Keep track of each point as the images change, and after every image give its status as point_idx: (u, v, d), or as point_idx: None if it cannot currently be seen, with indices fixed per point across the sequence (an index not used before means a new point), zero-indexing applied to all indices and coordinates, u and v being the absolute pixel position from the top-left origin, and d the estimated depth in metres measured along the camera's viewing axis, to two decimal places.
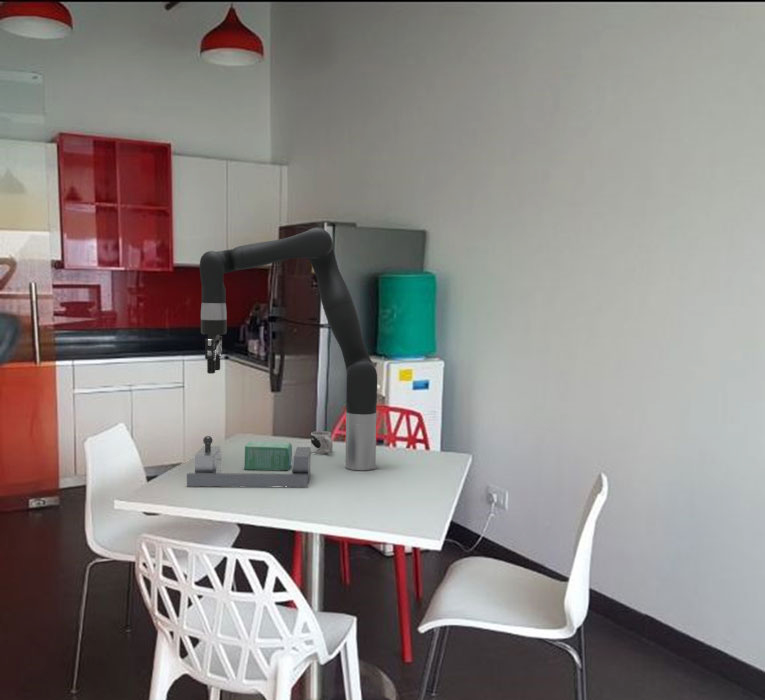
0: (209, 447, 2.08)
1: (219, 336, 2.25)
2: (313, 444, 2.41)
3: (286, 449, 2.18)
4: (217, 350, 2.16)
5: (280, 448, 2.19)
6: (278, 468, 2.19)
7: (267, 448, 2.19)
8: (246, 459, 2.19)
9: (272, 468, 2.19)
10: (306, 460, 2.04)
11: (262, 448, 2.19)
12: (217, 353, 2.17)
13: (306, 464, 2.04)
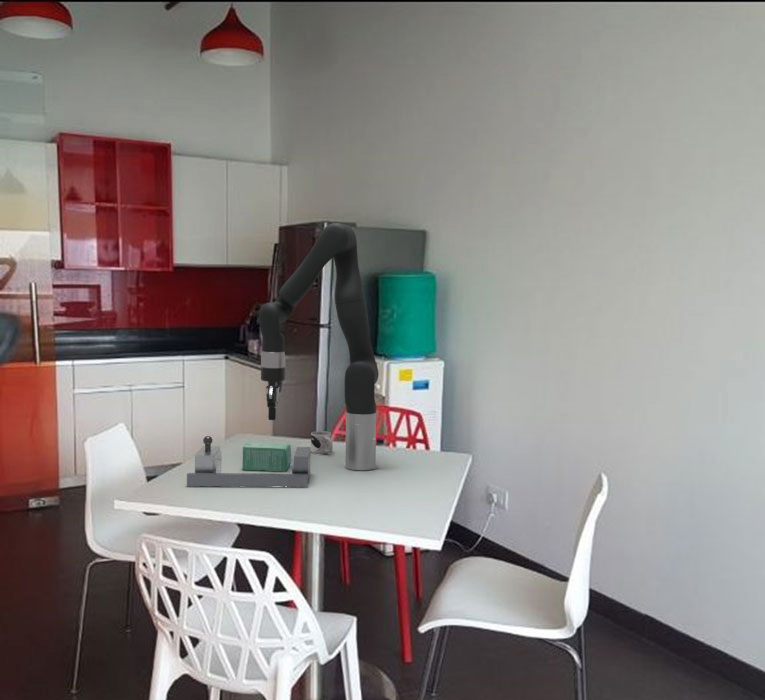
0: (209, 447, 2.08)
1: None
2: (313, 444, 2.41)
3: (284, 450, 2.17)
4: (277, 398, 2.30)
5: (278, 449, 2.17)
6: (276, 469, 2.18)
7: (265, 449, 2.18)
8: (244, 460, 2.18)
9: (270, 469, 2.18)
10: (306, 460, 2.04)
11: (260, 449, 2.18)
12: None
13: (306, 464, 2.04)
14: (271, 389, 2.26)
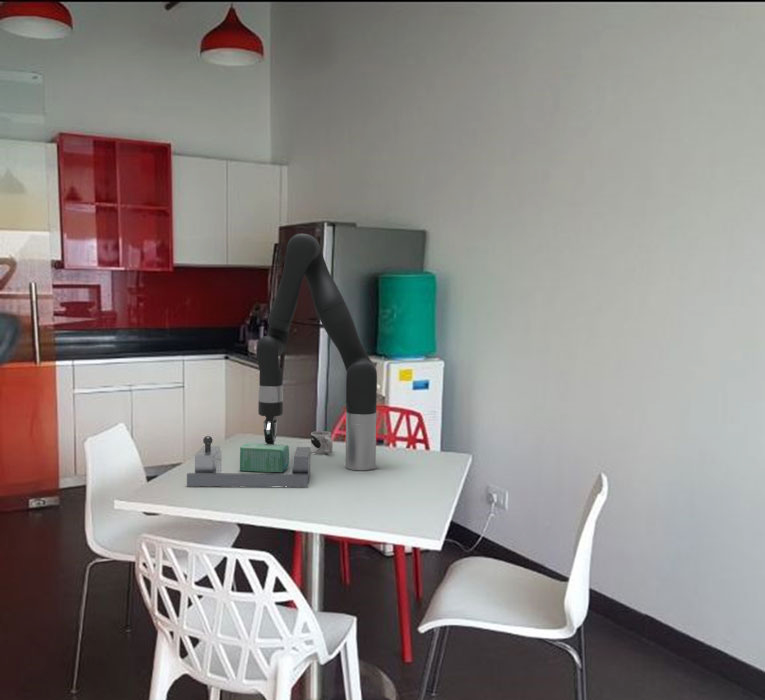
0: (209, 447, 2.08)
1: None
2: (313, 444, 2.41)
3: (281, 451, 2.15)
4: (275, 433, 2.24)
5: (275, 450, 2.16)
6: (273, 470, 2.16)
7: (262, 450, 2.16)
8: (241, 460, 2.17)
9: (267, 470, 2.16)
10: (306, 460, 2.04)
11: (257, 449, 2.16)
12: (275, 434, 2.25)
13: (306, 464, 2.04)
14: (269, 424, 2.21)
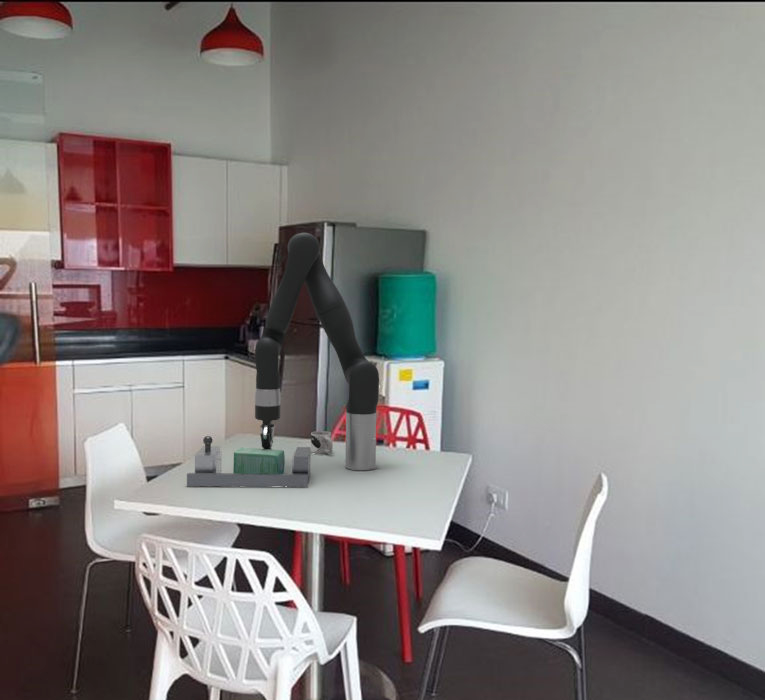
0: (209, 447, 2.08)
1: None
2: (313, 444, 2.41)
3: (275, 457, 2.08)
4: (272, 438, 2.17)
5: (269, 455, 2.09)
6: None
7: (256, 455, 2.09)
8: (235, 466, 2.10)
9: None
10: (306, 460, 2.04)
11: (251, 455, 2.09)
12: (272, 439, 2.18)
13: (306, 464, 2.04)
14: (265, 429, 2.14)
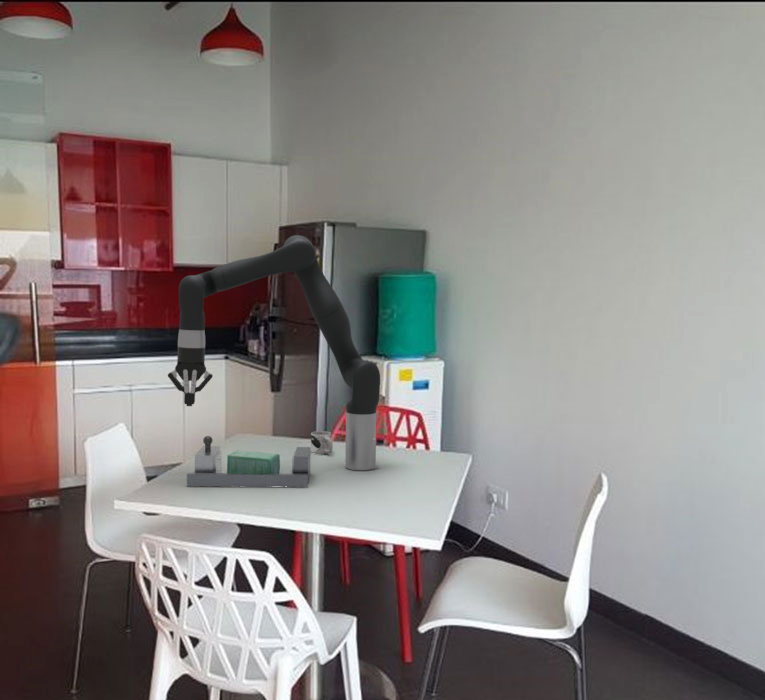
0: (209, 447, 2.08)
1: (210, 374, 2.09)
2: (313, 444, 2.41)
3: (268, 460, 2.04)
4: (184, 382, 2.06)
5: (262, 459, 2.05)
6: None
7: (249, 458, 2.05)
8: (228, 469, 2.07)
9: None
10: (306, 460, 2.04)
11: (244, 458, 2.06)
12: (187, 384, 2.07)
13: (306, 464, 2.04)
14: (175, 369, 2.07)
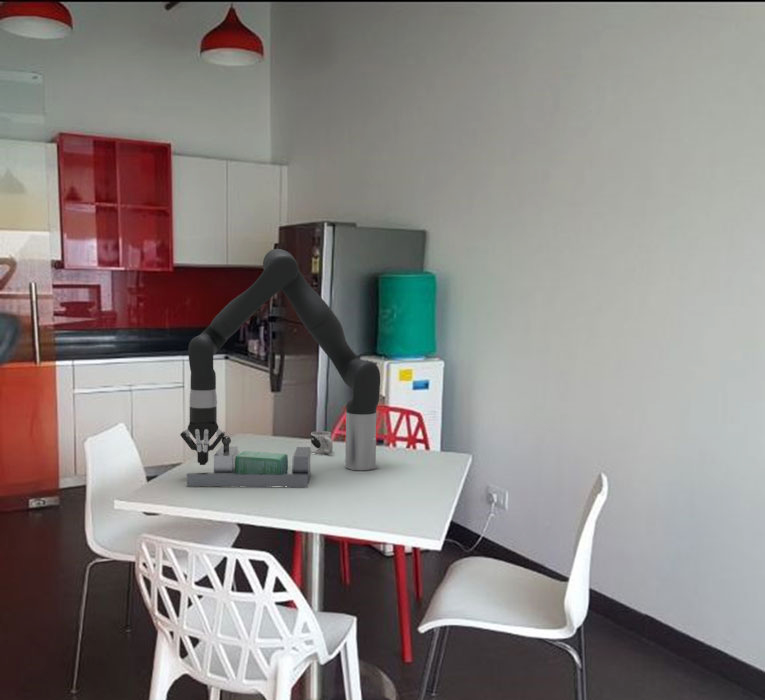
0: (227, 447, 2.08)
1: (222, 433, 2.08)
2: (313, 444, 2.41)
3: (278, 460, 2.04)
4: (196, 441, 2.06)
5: (272, 459, 2.05)
6: None
7: (258, 459, 2.05)
8: (237, 470, 2.06)
9: None
10: (306, 460, 2.04)
11: (253, 458, 2.05)
12: (199, 443, 2.07)
13: (306, 464, 2.04)
14: None
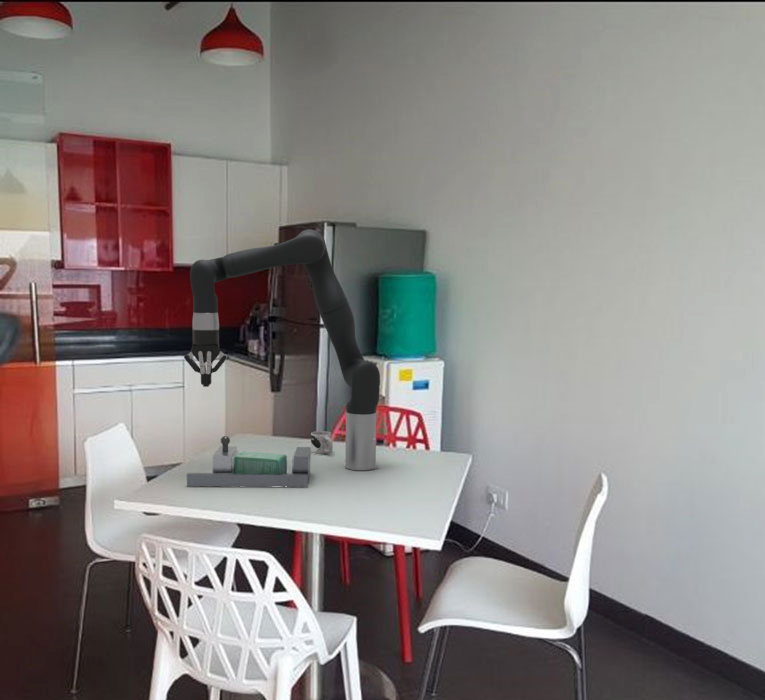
0: (226, 447, 2.08)
1: (225, 355, 2.15)
2: (313, 444, 2.41)
3: (277, 461, 2.04)
4: (199, 363, 2.14)
5: (270, 460, 2.04)
6: None
7: (257, 459, 2.05)
8: (236, 470, 2.06)
9: None
10: (306, 460, 2.04)
11: (252, 459, 2.05)
12: (202, 365, 2.14)
13: (306, 464, 2.04)
14: (191, 351, 2.15)
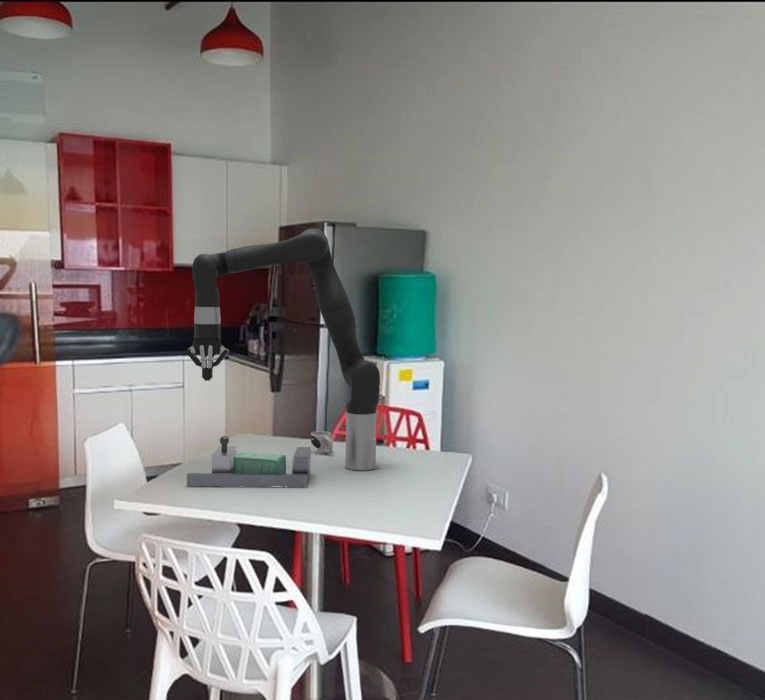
0: (225, 447, 2.08)
1: (226, 349, 2.15)
2: (313, 444, 2.41)
3: (275, 461, 2.03)
4: (201, 357, 2.14)
5: (269, 460, 2.03)
6: None
7: (256, 459, 2.04)
8: (235, 470, 2.06)
9: None
10: (306, 460, 2.04)
11: (251, 459, 2.04)
12: (203, 359, 2.14)
13: (306, 464, 2.04)
14: None
